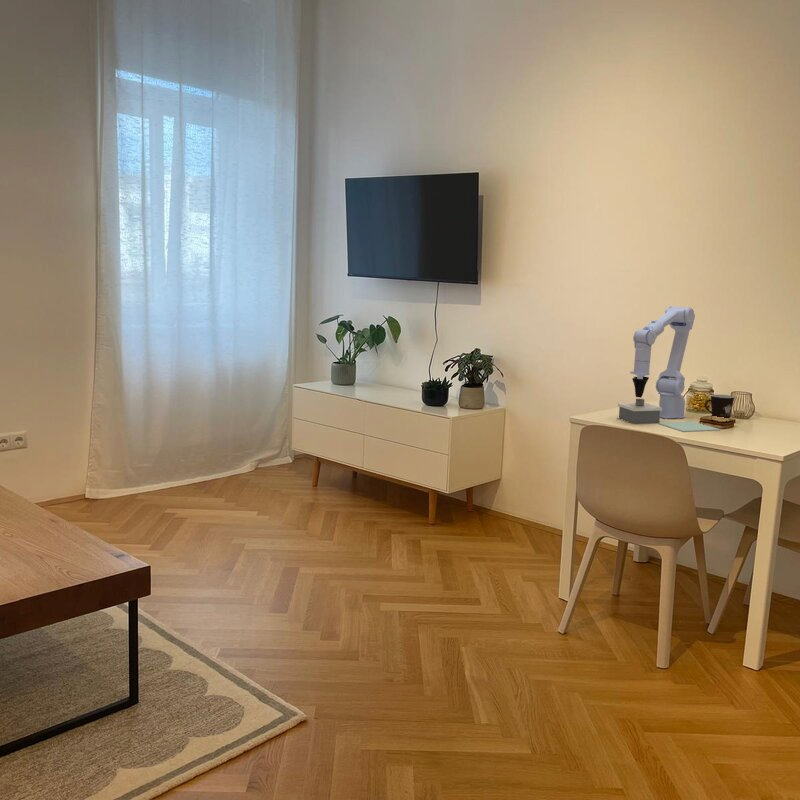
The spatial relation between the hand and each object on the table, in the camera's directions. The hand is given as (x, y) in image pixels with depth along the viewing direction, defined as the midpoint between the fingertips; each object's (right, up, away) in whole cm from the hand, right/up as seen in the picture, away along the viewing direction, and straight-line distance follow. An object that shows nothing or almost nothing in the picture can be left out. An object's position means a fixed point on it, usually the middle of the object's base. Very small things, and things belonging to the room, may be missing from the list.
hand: (639, 396), depth 321 cm
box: (+1, -10, +5) cm, 11 cm away
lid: (+1, -5, +4) cm, 6 cm away
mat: (+17, -12, -6) cm, 21 cm away
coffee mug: (+33, -10, +8) cm, 35 cm away
